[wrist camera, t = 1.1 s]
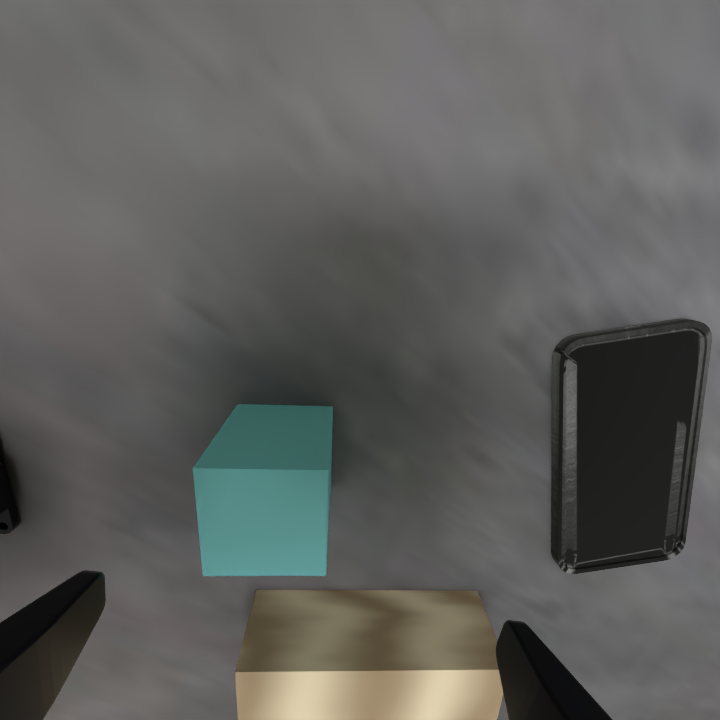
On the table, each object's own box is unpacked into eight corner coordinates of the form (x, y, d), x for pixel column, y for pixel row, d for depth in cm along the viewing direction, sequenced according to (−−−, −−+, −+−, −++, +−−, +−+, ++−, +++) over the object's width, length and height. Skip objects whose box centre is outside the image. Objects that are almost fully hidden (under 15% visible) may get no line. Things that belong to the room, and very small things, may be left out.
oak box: (262, 733, 27) (245, 838, 22) (257, 584, 23) (234, 672, 18) (449, 730, 28) (471, 830, 23) (475, 585, 24) (508, 669, 19)
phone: (557, 576, 22) (560, 341, 18) (547, 561, 24) (548, 336, 19) (685, 557, 22) (717, 317, 18) (669, 543, 23) (696, 313, 19)
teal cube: (242, 485, 21) (202, 576, 15) (237, 403, 19) (192, 468, 13) (330, 486, 21) (325, 575, 15) (333, 405, 19) (328, 470, 14)
